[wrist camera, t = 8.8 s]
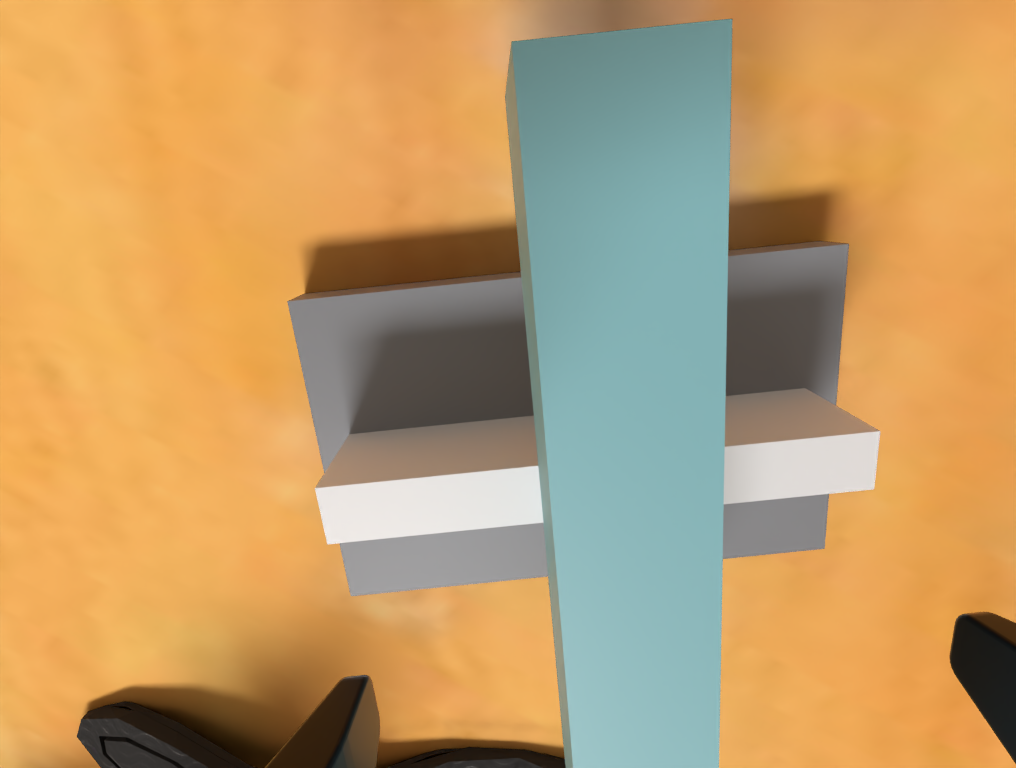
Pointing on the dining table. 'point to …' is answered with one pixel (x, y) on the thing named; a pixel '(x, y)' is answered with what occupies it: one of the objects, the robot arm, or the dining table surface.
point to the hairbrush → (201, 764)
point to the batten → (629, 374)
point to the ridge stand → (511, 430)
